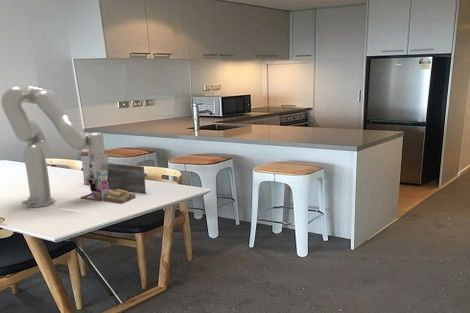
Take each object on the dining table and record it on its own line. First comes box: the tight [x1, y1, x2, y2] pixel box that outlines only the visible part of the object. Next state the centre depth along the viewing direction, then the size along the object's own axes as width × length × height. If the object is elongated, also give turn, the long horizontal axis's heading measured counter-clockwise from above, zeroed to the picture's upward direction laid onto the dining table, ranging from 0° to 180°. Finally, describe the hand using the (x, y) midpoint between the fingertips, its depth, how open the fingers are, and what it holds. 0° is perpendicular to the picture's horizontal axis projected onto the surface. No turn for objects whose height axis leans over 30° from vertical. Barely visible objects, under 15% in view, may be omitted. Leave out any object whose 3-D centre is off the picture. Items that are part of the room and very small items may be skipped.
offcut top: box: [108, 189, 129, 198], centre depth 208 cm, size 6×8×2 cm
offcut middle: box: [107, 193, 131, 200], centre depth 208 cm, size 7×9×2 cm
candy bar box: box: [91, 169, 110, 201], centre depth 212 cm, size 11×5×16 cm, turn 44°
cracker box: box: [80, 148, 109, 186], centre depth 241 cm, size 14×6×21 cm, turn 84°
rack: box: [80, 162, 147, 205], centre depth 213 cm, size 20×26×16 cm
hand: (100, 188), depth 212 cm, fingers open, 9 cm apart
